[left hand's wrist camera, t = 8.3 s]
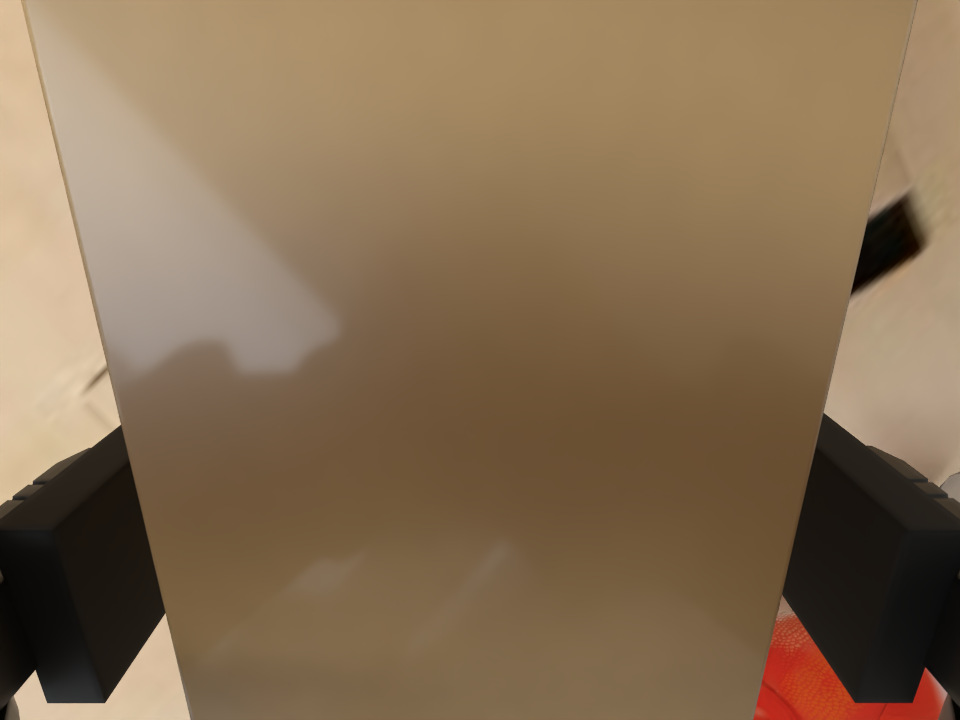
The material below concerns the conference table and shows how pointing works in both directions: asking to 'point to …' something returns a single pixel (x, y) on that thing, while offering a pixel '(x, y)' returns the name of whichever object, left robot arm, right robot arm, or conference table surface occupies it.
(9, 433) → the conference table surface
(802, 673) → the fish
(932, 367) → the conference table surface
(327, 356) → the bar
